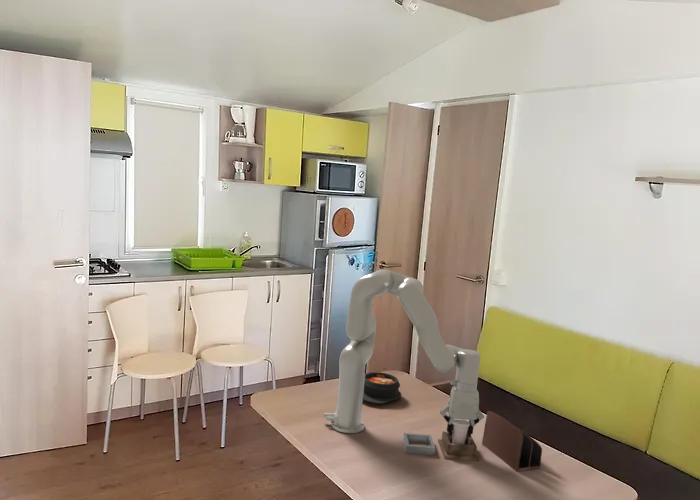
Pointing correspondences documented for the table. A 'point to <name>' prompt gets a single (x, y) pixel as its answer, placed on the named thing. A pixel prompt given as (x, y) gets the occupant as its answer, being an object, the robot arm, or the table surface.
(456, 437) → the smoothie
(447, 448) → the socket
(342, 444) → the table surface
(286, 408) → the table surface
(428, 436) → the holder
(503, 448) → the letter holder
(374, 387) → the casserole
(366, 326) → the robot arm
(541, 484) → the table surface
